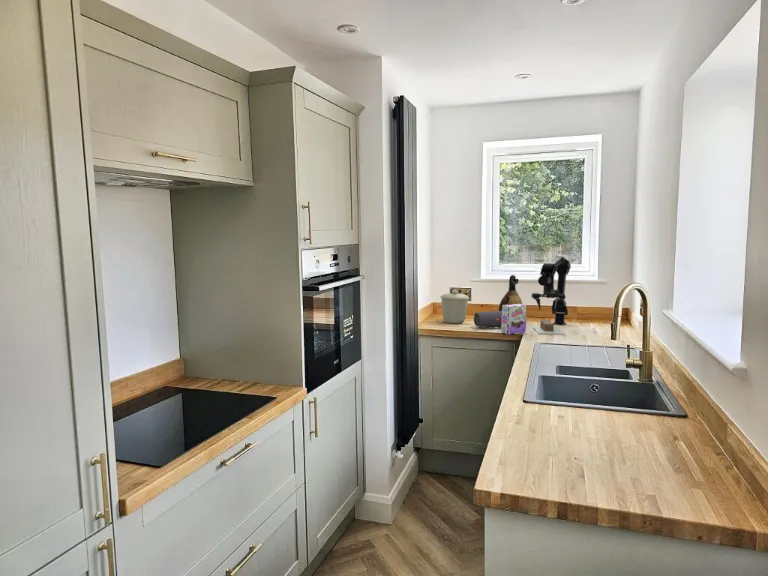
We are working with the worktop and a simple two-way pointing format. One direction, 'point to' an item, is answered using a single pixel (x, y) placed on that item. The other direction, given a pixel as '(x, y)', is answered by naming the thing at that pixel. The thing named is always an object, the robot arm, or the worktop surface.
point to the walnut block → (547, 325)
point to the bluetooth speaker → (488, 319)
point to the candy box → (513, 319)
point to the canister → (454, 307)
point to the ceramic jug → (511, 294)
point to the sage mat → (541, 331)
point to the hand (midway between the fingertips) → (547, 310)
